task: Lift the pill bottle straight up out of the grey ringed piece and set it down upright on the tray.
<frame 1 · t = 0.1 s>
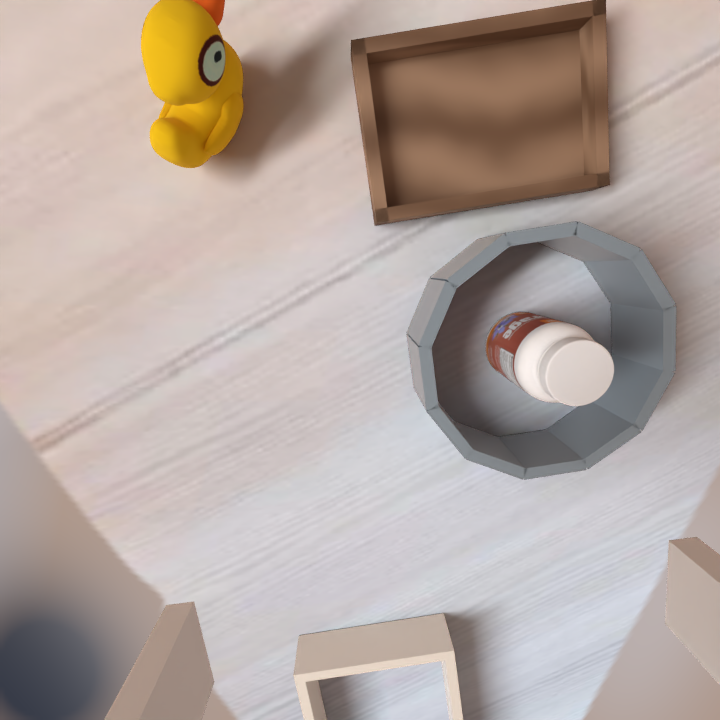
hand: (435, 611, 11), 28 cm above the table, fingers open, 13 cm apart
pill bottle: (514, 343, 39), resting in grey ringed piece
duckling: (216, 111, 34), on the table
grey ringed piece: (515, 344, 39), on the table
open rectangular frame: (382, 685, 47), on the table
tray: (475, 126, 34), on the table
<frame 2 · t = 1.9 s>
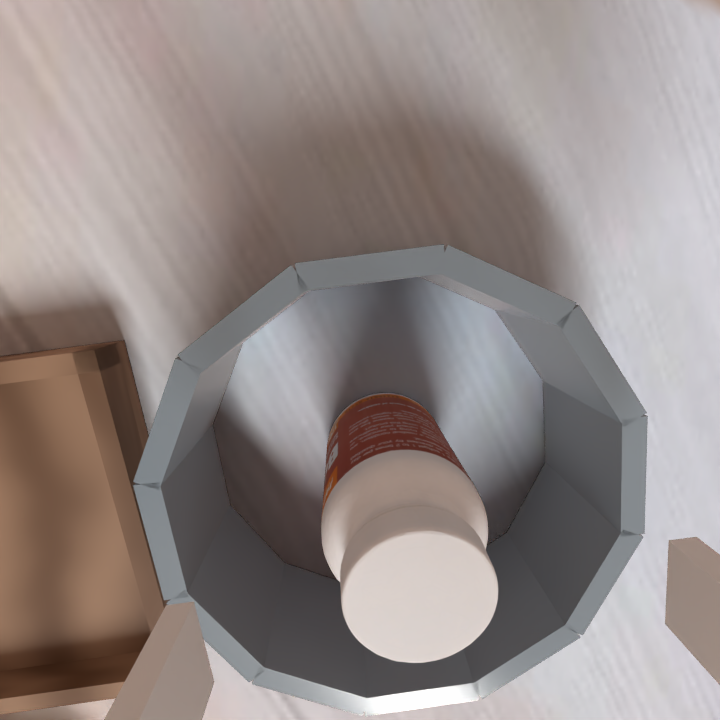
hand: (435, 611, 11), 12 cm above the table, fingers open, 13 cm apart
pill bottle: (383, 442, 23), resting in grey ringed piece
grey ringed piece: (383, 443, 23), on the table
tray: (49, 522, 23), on the table
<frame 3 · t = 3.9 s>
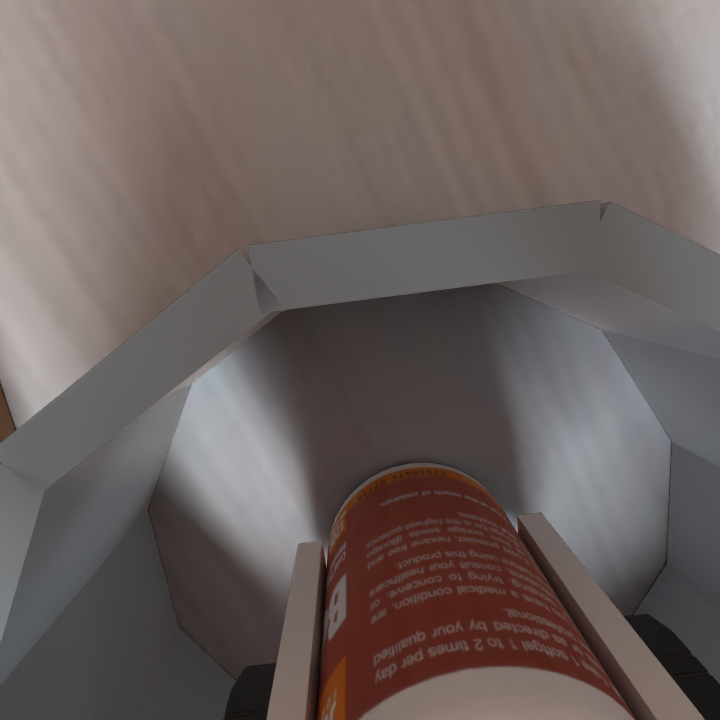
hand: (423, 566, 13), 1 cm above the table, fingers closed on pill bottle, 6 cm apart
pill bottle: (416, 533, 15), resting in grey ringed piece, touching gripper
grey ringed piece: (416, 537, 15), on the table
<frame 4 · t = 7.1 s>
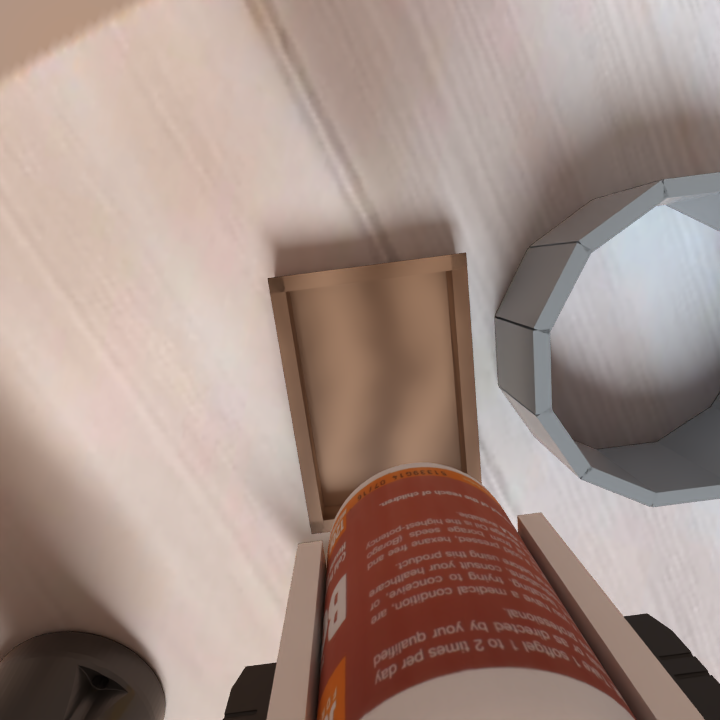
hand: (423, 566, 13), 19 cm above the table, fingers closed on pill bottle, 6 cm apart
pill bottle: (416, 533, 15), point 17 cm above the table, touching gripper
grey ringed piece: (628, 335, 31), on the table
tray: (380, 392, 31), on the table
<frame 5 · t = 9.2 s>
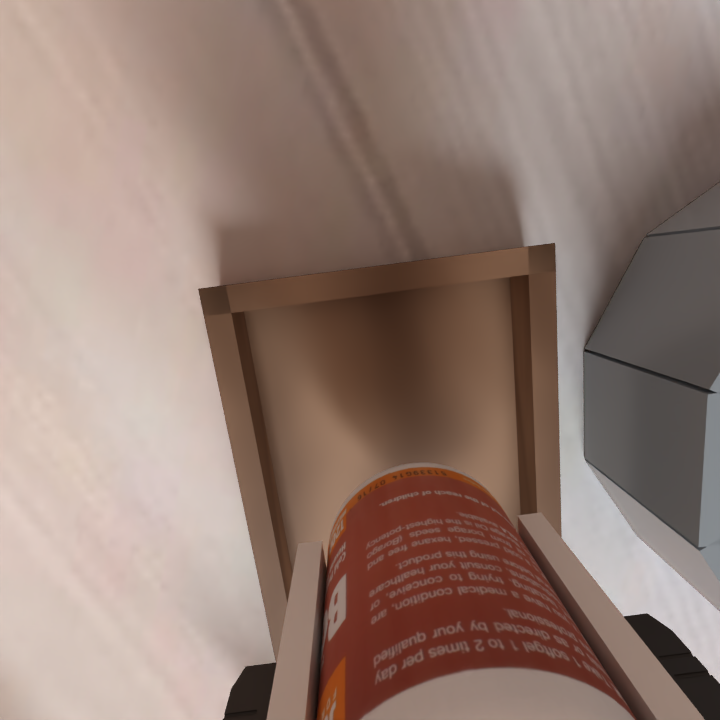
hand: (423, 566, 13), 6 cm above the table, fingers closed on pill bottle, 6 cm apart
pill bottle: (416, 533, 15), point 5 cm above the table, touching gripper
tray: (396, 470, 19), on the table
when the fingers open (4 cm above the table, at t = 10.6 s): pill bottle drops 1 cm, resting on tray.
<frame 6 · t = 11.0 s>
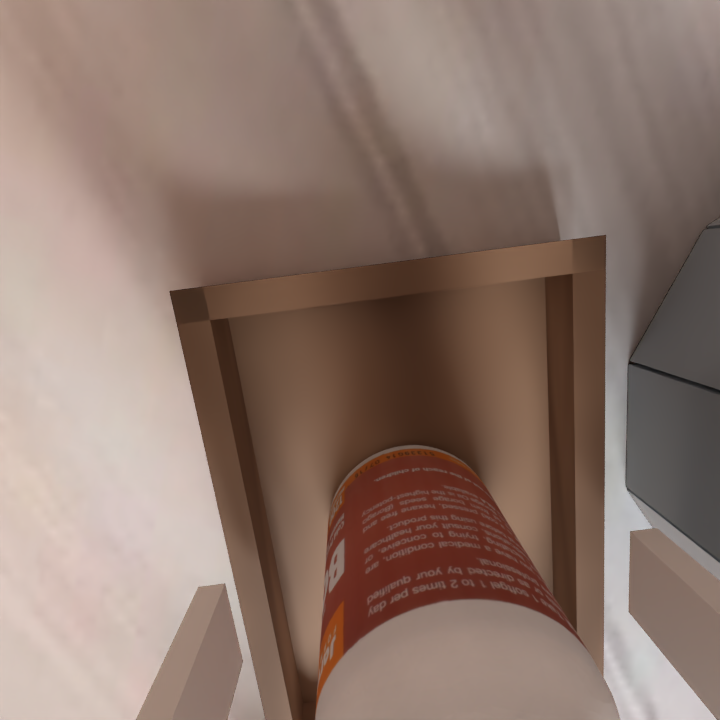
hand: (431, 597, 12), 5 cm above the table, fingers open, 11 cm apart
pill bottle: (408, 510, 16), point 1 cm above the table, touching tray
tray: (407, 501, 17), on the table
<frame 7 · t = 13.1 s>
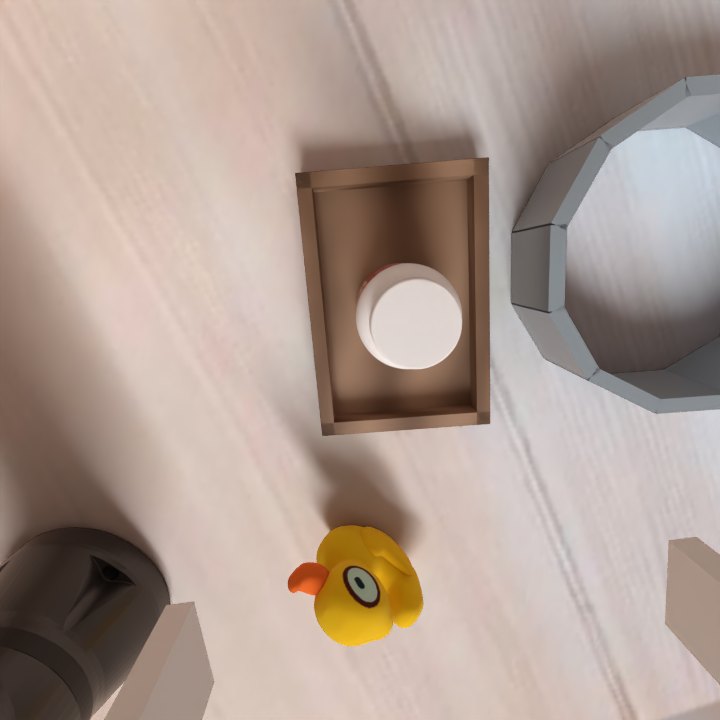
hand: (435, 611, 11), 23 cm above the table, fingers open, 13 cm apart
pill bottle: (396, 304, 32), point 1 cm above the table, touching tray
duckling: (361, 539, 37), on the table
grey ringed piece: (641, 258, 32), on the table
tray: (396, 303, 32), on the table
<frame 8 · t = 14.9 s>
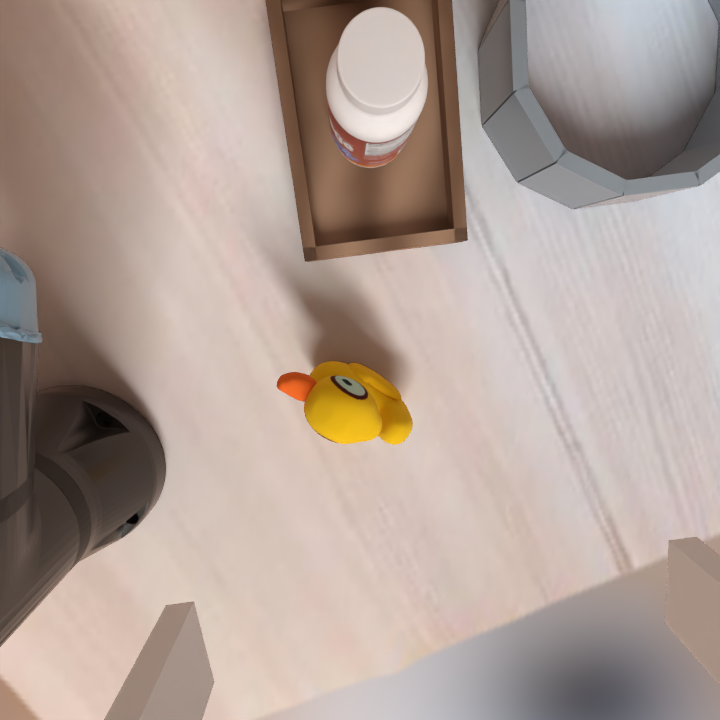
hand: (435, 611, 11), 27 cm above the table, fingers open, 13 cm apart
pill bottle: (370, 128, 33), point 1 cm above the table, touching tray
duckling: (350, 385, 38), on the table
grey ringed piece: (604, 72, 33), on the table
tray: (370, 130, 33), on the table
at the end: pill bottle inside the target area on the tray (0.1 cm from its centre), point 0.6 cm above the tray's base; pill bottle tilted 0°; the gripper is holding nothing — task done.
